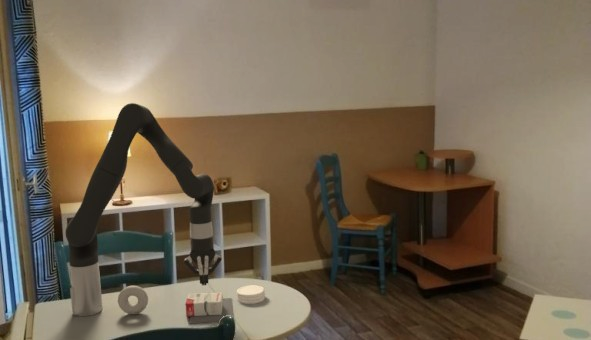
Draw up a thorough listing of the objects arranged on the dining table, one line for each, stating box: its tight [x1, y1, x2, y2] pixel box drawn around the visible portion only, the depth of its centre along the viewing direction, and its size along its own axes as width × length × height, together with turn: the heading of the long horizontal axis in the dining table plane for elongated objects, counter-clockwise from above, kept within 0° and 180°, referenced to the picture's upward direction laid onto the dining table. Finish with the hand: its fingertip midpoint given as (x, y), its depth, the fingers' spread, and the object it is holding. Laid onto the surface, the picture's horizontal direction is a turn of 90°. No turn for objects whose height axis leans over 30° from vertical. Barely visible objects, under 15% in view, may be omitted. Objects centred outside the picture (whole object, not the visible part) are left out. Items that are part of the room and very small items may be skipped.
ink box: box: [185, 291, 224, 318], centre depth 190 cm, size 9×5×12 cm
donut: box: [117, 285, 149, 315], centre depth 190 cm, size 10×4×10 cm, turn 94°
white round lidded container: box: [236, 284, 266, 305], centre depth 201 cm, size 10×10×4 cm
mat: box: [189, 297, 234, 325], centre depth 191 cm, size 14×18×1 cm
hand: (204, 284), depth 190 cm, fingers closed
